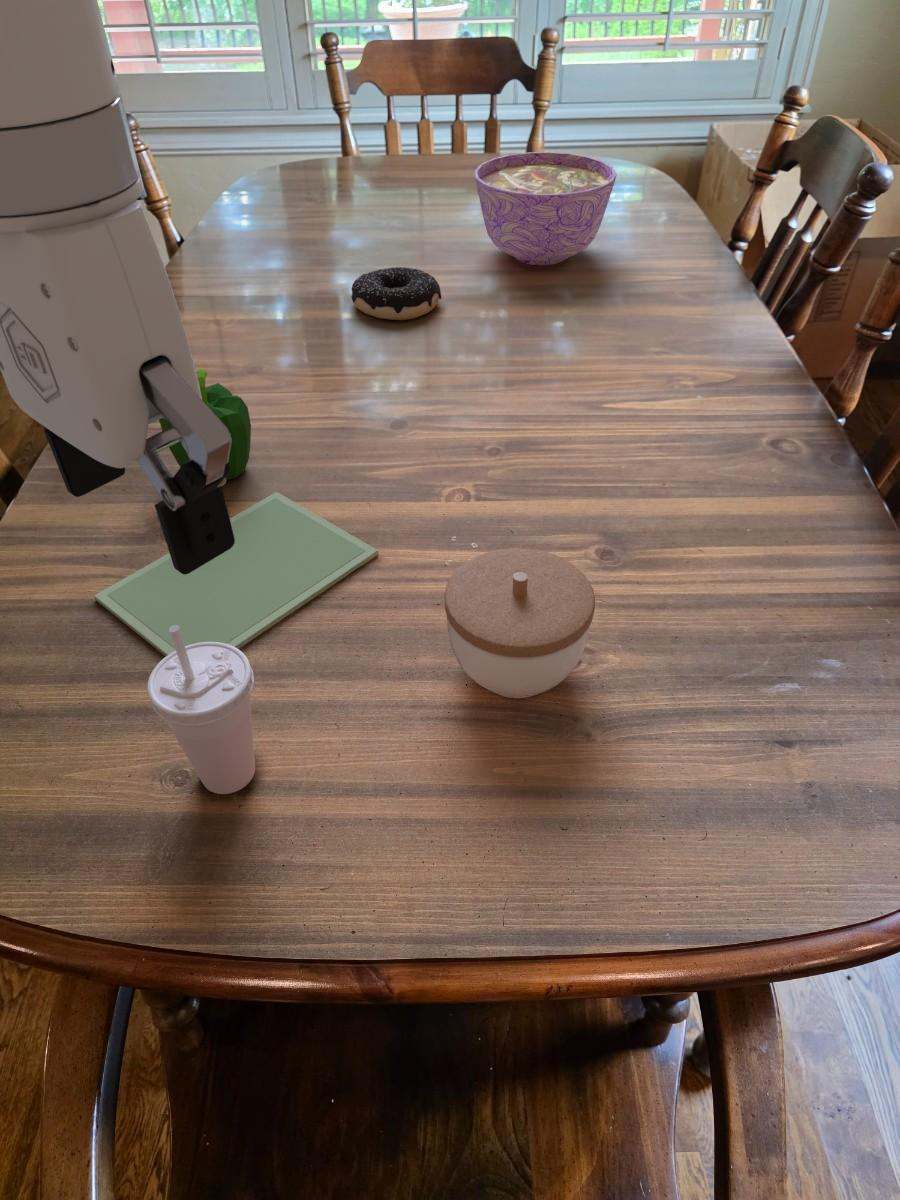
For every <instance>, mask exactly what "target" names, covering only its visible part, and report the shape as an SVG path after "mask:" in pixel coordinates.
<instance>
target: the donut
mask: <svg viewBox="0 0 900 1200" xmlns="http://www.w3.org/2000/svg"><path fill="white" fill-rule="evenodd" d="M350 297H351V301H352V303H353V305H354V306H355V307H356V309H358V310H360V311H361V312H363V313H364V314H366V315H369V316H372V317H375V318H378V319H384V320H391V321H407V320H412V319H417V318H419V317H421V316H424V315H426V314H428V313H430V311H432V310H434V309H435V308H436V306H437V305H438V303H439V300H442V293H441V287H440V284H439V282H438V281H437V279H436V278H435V277H434V276H433V275H431V274H430V273H428V272H425V271H424V270H421V269H418V268H415V267H409V266H408V267H405V266H404V267H402V266H396V267H387V268H380V269H377V270H373V271H368V272H366V273H363V274H360V275H359V276H358V277H357V278H356V279H354V281H353V282H352V285H351V296H350Z"/></svg>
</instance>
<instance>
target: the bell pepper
mask: <svg viewBox="0 0 900 1200" xmlns="http://www.w3.org/2000/svg"><path fill="white" fill-rule="evenodd" d="M196 373H197V377H198V382H199V386H200V391H201V397H202V401H203V402H204V403H205V404H206V405H207V406H208V407H209V408H210V409H211V411H212V412H213V413H214V414H215V415H216V416H217V417H218V418H219V419H220V420H221V422H222V423H223V424H224V425H225V426H226V427H227V429H228V430H229V432H230V434H231V438H232V443H231V449H230V454H229V460H228V462H230V464H229V465H230V472H229V474H228V475H227V476H226V481H227V480H235V479H236V478H238V477H239V476H241V475H242V474H243V473H244V471H245V470H246V468H247V465H248V463H249V459H250V451H251V439H252V437H251V436H252V424H251V418H250V412H249V408H248V406H247V404H246V403H245V402H244V400H243V398H242V397H240V396H239V395H238V394H234V395H233V394H232V391H230V390H229V389H228V388H226V387H225V386H224V385H222V384H220V382H217V383H214V384H211V385H208V386H206V379H207V376H208V372H207V370H205V369H204V368H202V369H200V368H199V369H197V370H196ZM158 421H159V424H160V429H161V431H164V430H166V429H168V428H170V427H172V425H171V424H170V423H169V422H168V421H167V420H166V419H164V418H161V419H159V420H158ZM168 448H169V451H170V452H171V454H172V456H173V458H174V460H175V461H176V463H177V464H178V466H179V468H181V466H182V465H183V464H185V463H187V462H189V457H188V456H187V452H186V450H185V449H184V447H183V446H182V444H181V441H180V442H178V443H176V444H174V445H172V446H170V447H168Z"/></svg>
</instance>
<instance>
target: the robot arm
mask: <svg viewBox="0 0 900 1200" xmlns="http://www.w3.org/2000/svg"><path fill="white" fill-rule="evenodd" d="M103 21H104V20H103V18H102V14H101V10H100V5H99V1H98V0H0V372H1V376H2V377H3V380H4V383H5V386H6V388H7V391H8V393H9V395H10V397H11V399H12V400H13V402H14V403H15V404H16V405H17V406H18V408H19V409H20V410H22V412H23V413H25V414H26V415H27V416H29V417H30V418H32V420H34V421H35V422H37V423H38V424H40V425H41V426H43V427H44V428H46V429H44V430H43V432H44V435H45V438H46V439H47V442H48V445H49V447H50V450H51V452H52V455H53V457H54V460H55V462H56V466H57V468H58V471H59V472H60V476H61V477H62V480H63V483H64V485H65V488H66V490H67V492H68V493H70V494H71V495H72V496H74V497H75V498H80V497H82V496H85V495H86V494H89V493H90V492H92V491H95V490H96V489H98V488H100V487H103V486H104V485H106V484H109V483H110V482H113V481H114V480H116V479H119V478H121V477H122V476H124V475H125V473H126V467H128V466H130V464H131V462H133V461H135V460H136V461H137V463H138V465H139V466H140V469H142V471H143V473H144V474H145V475H146V477H147V479H148V480H149V482H150V483H151V485H152V486H153V488H154V489H155V491H156V493H157V494H158V496H159V497H160V499H161V500H160V501H158V502H157V503H155V504H154V508H155V511H156V514H157V517H158V520H159V521H158V522H159V524H160V527H161V530H162V533H163V536H164V540H165V543H166V546H167V549H168V551H169V552H168V553H170V556H171V559H172V562H173V565H174V568H175V569H176V570H178V571H179V572H180V573H182V574H184V575H185V574H189V573H190V572H192V571H194V570H196V569H197V568H199V567H201V566H202V565H204V564H206V563H207V562H209V561H211V560H212V559H214V558H216V557H217V556H219V555H221V554H222V553H224V552H226V551H227V550H229V549H231V548H232V547H233V545H234V543H235V538H234V534H233V530H232V526H231V522H230V518H231V517H230V514H229V509H228V506H227V502H226V498H225V494H224V490H223V486H224V485H225V484H226V483H227V480H226V476H227V475H228V474H229V472H230V465H229V464H230V462H228V460H229V454H230V449H231V443H232V438H231V434H230V432H229V430H228V429H227V427H226V426H225V425H224V424H223V423H222V422H221V420H220V419H219V418H218V417H217V416H216V415H215V414H214V413H213V412H212V411H211V409H210V408H209V407H208V406H207V405H206V404H205V403H204V402H203V401H202V397H201V391H200V386H199V382H198V377H197V373H196V372H197V369H196V365H195V361H194V358H193V354H192V350H191V346H190V343H189V339H188V336H187V332H186V330H185V326H184V323H183V319H182V316H181V313H180V309H179V307H178V303H177V300H176V297H175V296H176V295H175V294H174V293H175V292H174V290H173V287H172V284H171V281H170V278H169V275H168V273H167V269H166V267H165V263H164V261H163V258H162V255H161V252H160V250H159V247H158V244H157V241H156V239H155V236H154V233H153V231H152V227H151V225H150V223H149V221H148V218H147V215H146V213H145V210H144V208H143V205H142V203H141V201H139V200H138V199H139V198H140V197H141V196H142V194H143V192H144V189H145V186H144V181H143V178H142V174H141V171H140V167H139V162H138V161H139V160H138V158H137V153H136V150H135V146H134V141H133V137H132V134H131V129H130V125H129V121H128V118H127V114H126V110H125V105H124V101H123V97H122V94H121V90H120V86H119V82H118V77H117V73H116V69H115V66H114V61H113V57H112V53H111V50H110V49H111V48H110V46H109V42H108V38H107V33H106V31H105V30H106V29H105V25H104V22H103ZM161 418H164V419H166V420H167V421H168V422H169V423H170V424H171V425H172V427H170V428H168V429H166V430H164V431H162V430H161V431H160V432H157V433H155V434H153V435H151V436H149V437H148V429H149V425H150V424H153V423H154V422H157V421H159V419H161ZM180 441H181V444H182V446H183V447H184V449H185V450H186V452H187V456H188V457H189V462H187V463H185V464H183V465H182V466H181V467H179V468H178V470H177V472H176V473H175V475H174V476H173V475H172V474H171V472H170V470H169V469H168V468H167V466H166V464H165V463H164V461H163V460H162V458H161V456H160V455H159V453H160V452H163V451H164V450H167V449H168V448H169V447H170V446H172V445H174V444H176V443H178V442H180Z"/></svg>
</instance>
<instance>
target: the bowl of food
mask: <svg viewBox="0 0 900 1200" xmlns="http://www.w3.org/2000/svg"><path fill="white" fill-rule="evenodd" d="M617 175H618V174H617V173H616V170H615V168H614V167H613V166H611V165H610V164H608V163H607V162H605V161H603V160H600V159H597V158H594V157H591V156H586V155H580V154H575V153H570V152H569V153H568V152H556V151H555V152H554V151H534V152H533V151H532V152H530V151H529V152H522V153H521V152H520V153H511V154H506V155H502V156H499V157H494V158H491V159H489V160H487V161H485V162H483V163H480V164H479V166H477V167H476V169H475V170H474V180H475V184H476V190H477V195H478V198H479V204H480V208H481V213H482V214H481V215H482V218H483V222H484V226H485V229H486V234H487V236H488V237H489V238H490V240H491V242H492V243H493V245H494V246H496V247H497V248H498V249H499V250H500V251H501V252H503V253H505V254H507V255H508V256H511V257H513V258H514V259H516V261H518V262H521V263H523V264H528V265H531V266H532V265H533V266H534V265H535V266H550V265H556V264H559V263H562V262H564V261H565V260H567V259H568V258H572V257H573V256H576V255H577V254H579V253H581V252H582V251H584V250H585V249H587V248H588V247H589V246H590V245H591V243H592V242H593V241H594V239H596V236H597V234H598V233H599V229H600V227H601V225H602V222H603V220H604V217H605V213H606V210H607V208H608V204H609V201H610V197H611V194H612V192H613V188H614V186H615V182H616V179H617Z"/></svg>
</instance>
